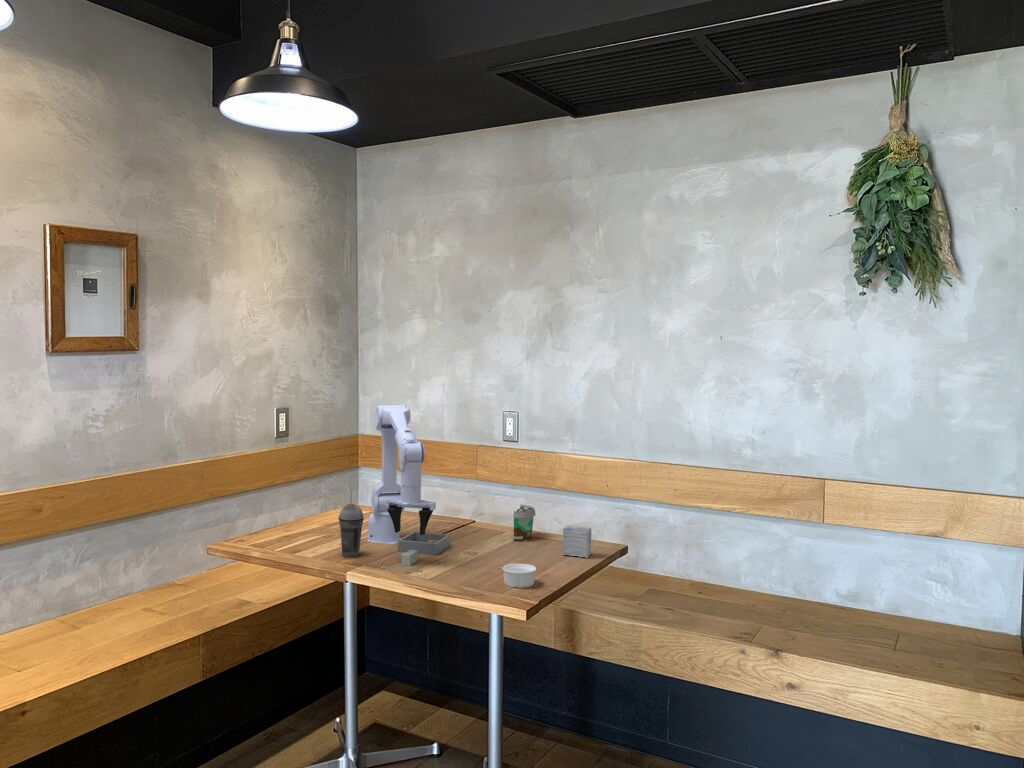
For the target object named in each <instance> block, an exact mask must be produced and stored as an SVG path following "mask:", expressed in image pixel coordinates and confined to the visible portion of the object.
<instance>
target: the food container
mask: <svg viewBox="0 0 1024 768" xmlns="http://www.w3.org/2000/svg"><path fill="white" fill-rule="evenodd" d="M519 505H520V507H519V508H518V509H517V510H514V511H513V515H512V516H513V517H512V518H513V542H517V541H518V542H525V541H524V540H528V541H530V540H529V539H531V538H533V537H532V535H533V527H534V526H533V525H534V517H535V516H537V515H536V510H535V507H534V506H531V505H527V504H519ZM531 540H532V539H531Z"/></svg>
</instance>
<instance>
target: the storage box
mask: <svg viewBox="0 0 1024 768" xmlns="http://www.w3.org/2000/svg"><path fill="white" fill-rule="evenodd" d="M401 538H402V539H400V540H398V542H397V544H398V545H397V546H398V547H397V552H398V553H405V552H407V551H408V550H418V555H426V556H428V555H429V556H437V555H439V554H440V553H441V552H444V550H446V549H448V548H450V546H451V535H450V534H445V533H433V532H425V534H424V535H420V531H413V532H411V533H409V534H408V535H405V536H402V537H401ZM428 540H438V542H436V543H428Z"/></svg>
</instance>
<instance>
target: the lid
mask: <svg viewBox="0 0 1024 768" xmlns="http://www.w3.org/2000/svg"><path fill="white" fill-rule="evenodd" d="M418 561H419V554H418V550H408V551H407V552H402V553H401V561H400V562H401V563H400V565H401V566H404V567H405V566H406V567H410V566H411V565H414V563H416V562H418ZM383 568H387V569H386V570H392V569H396V570H395V571H401V570H402V571H401V572H410V571H414V572H413V573H419V572H421V573H423V572H422V571H423V570H417V569H409V568H408V569H407V568H402V567H401V568H400V567H399V568H398V567H390V566H380V569H383Z"/></svg>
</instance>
